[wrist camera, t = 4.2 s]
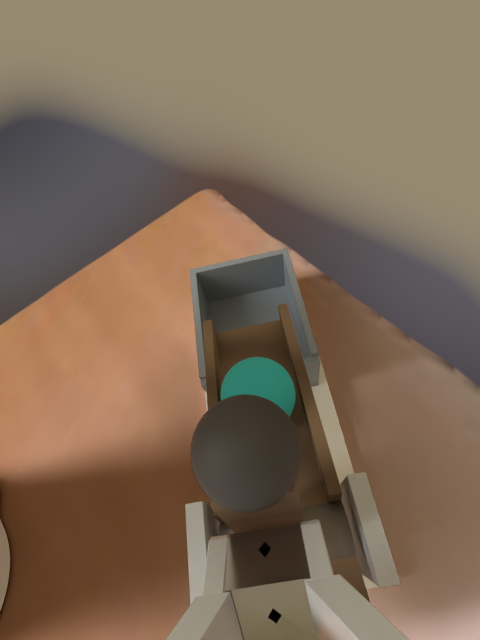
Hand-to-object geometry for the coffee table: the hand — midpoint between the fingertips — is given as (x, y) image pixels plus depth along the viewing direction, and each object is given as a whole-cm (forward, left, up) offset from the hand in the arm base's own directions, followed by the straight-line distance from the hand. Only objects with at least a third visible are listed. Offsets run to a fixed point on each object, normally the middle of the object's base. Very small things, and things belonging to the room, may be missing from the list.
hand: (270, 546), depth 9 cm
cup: (-7, +17, -21) cm, 28 cm away
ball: (-2, +6, -7) cm, 9 cm away
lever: (-1, +2, -15) cm, 15 cm away
